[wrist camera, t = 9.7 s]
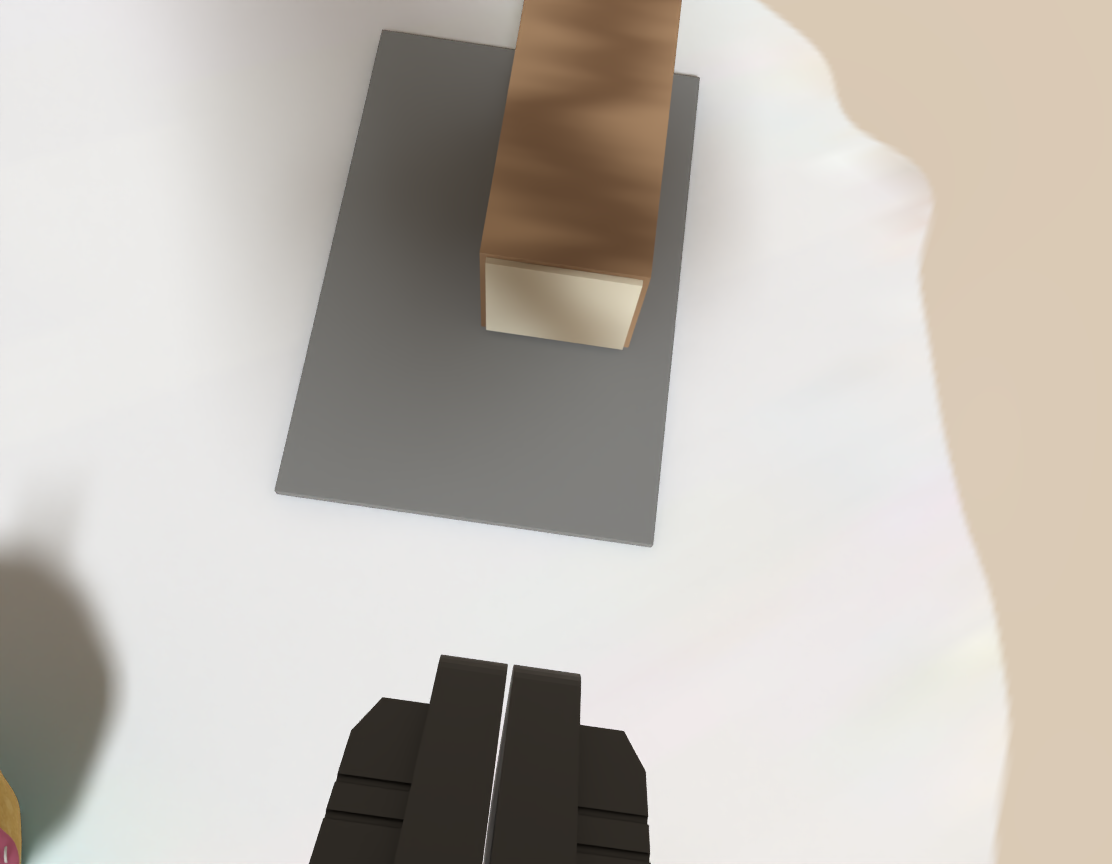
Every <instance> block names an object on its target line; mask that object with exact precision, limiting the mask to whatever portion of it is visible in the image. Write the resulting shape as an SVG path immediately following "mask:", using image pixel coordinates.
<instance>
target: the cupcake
mask: <svg viewBox="0 0 1112 864" xmlns="http://www.w3.org/2000/svg"><path fill="white" fill-rule="evenodd" d="M21 847H22V838H21V816H20V808H19V803H18V800H17V798H16V795H15V793H14V792H13V790H12V788H11V787H10V785H9V784H8V782H7V781H6V779H5V778H4V776H3V774H2V773H1V771H0V864H21Z"/></svg>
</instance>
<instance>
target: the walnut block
mask: <svg viewBox="0 0 1112 864" xmlns="http://www.w3.org/2000/svg"><path fill="white" fill-rule="evenodd" d="M681 2H682V0H524V4H523V10H522V15H521V21H520V27H519V32H518V38H517V43H516V49H515V55H514V60H513V66H512V72H511V77H510V83H509V89H508V94H507V100H506V106H505V111H504V117H503V123H502V128H501V134H500V140H499V145H498V151H497V157H496V162H495V168H494V174H493V179H492V185H491V190H490V196H489V202H488V207H487V213H486V219H485V224H484V230H483V236H482V241H481V247H480V298H481V326H483V327H486V330H490V331H497V332H504V333H510V334H517V335H524V336H531V337H538V338H545V339H552V340H558V341H565V342H572V343H579V344H586V345H593V346H600V347H606V348H613V349H620V350H623V347H627V348H628V347H629V344H630V341H631V338H632V334H633V331H634V328H635V325H636V322H637V319H638V316H639V313H640V310H641V307H642V304H643V301H644V298H645V295H646V292H647V289H648V285H649V282H650V279H651V273H652V264H653V255H654V246H655V237H656V228H657V219H658V210H659V201H660V192H661V183H662V174H663V165H664V156H665V147H666V138H667V129H668V120H669V110H670V101H671V92H672V83H673V74H674V65H675V56H676V47H677V38H678V29H679V20H680V11H681Z"/></svg>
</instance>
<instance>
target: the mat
mask: <svg viewBox="0 0 1112 864" xmlns="http://www.w3.org/2000/svg"><path fill="white" fill-rule="evenodd" d="M514 55H515V50H513V49H506V48H500V47H493V46H487V45H480V44H473V43H467V42H460V41H453V40H447V39H440V38H434V37H427V36H420V35H414V34H407V33H400V32H394V31H387V30H382V33H381V37H380V41H379V46H378V50H377V54H376V59H375V63H374V67H373V71H372V76H371V80H370V84H369V89H368V93H367V97H366V101H365V106H364V110H363V114H362V119H361V123H360V127H359V131H358V136H357V140H356V144H355V148H354V153H353V157H352V161H351V166H350V170H349V174H348V178H347V183H346V187H345V191H344V196H343V200H342V204H341V208H340V213H339V217H338V221H337V225H336V230H335V234H334V238H333V243H332V247H331V251H330V255H329V260H328V264H327V268H326V273H325V277H324V281H323V285H322V290H321V294H320V298H319V302H318V307H317V311H316V315H315V320H314V324H313V328H312V332H311V337H310V341H309V345H308V350H307V354H306V358H305V362H304V367H303V371H302V375H301V379H300V384H299V388H298V392H297V397H296V401H295V405H294V409H293V414H292V418H291V422H290V427H289V431H288V435H287V439H286V444H285V448H284V452H283V456H282V461H281V465H280V469H279V474H278V478H277V482H276V486H275V492H276V493H277V494H281V495H288V496H295V497H302V498H309V499H316V500H323V501H330V502H337V503H344V504H351V505H358V506H365V507H372V508H379V509H386V510H393V511H400V512H407V513H414V514H421V515H428V516H435V517H442V518H449V519H456V520H463V521H470V522H477V523H484V524H491V525H498V526H505V527H512V528H519V529H526V530H533V531H540V532H547V533H554V534H561V535H568V536H575V537H582V538H589V539H596V540H603V541H610V542H617V543H624V544H631V545H638V546H645V547H652V546H653V541H654V531H655V521H656V511H657V501H658V491H659V481H660V471H661V461H662V451H663V441H664V431H665V421H666V411H667V401H668V391H669V381H670V371H671V361H672V351H673V341H674V331H675V320H676V310H677V300H678V290H679V280H680V270H681V260H682V250H683V240H684V230H685V220H686V210H687V200H688V190H689V180H690V170H691V160H692V150H693V140H694V130H695V120H696V110H697V100H698V90H699V80H700V78H699V77H692V76H686V75H679V74H673V83H672V92H671V101H670V110H669V120H668V129H667V138H666V147H665V156H664V165H663V174H662V183H661V192H660V201H659V210H658V219H657V228H656V237H655V246H654V255H653V264H652V273H651V279H650V282H649V285H648V289H647V292H646V295H645V298H644V301H643V304H642V307H641V310H640V313H639V316H638V319H637V322H636V325H635V328H634V331H633V334H632V338H631V341H630V344H629V347H628V348H627V347H623V350H620V349H613V348H606V347H600V346H593V345H586V344H579V343H572V342H565V341H558V340H552V339H545V338H538V337H531V336H524V335H517V334H510V333H504V332H497V331H490V330H486V327H483V326H481V298H480V247H481V241H482V236H483V230H484V224H485V219H486V213H487V207H488V202H489V196H490V190H491V185H492V179H493V174H494V168H495V162H496V157H497V151H498V145H499V140H500V134H501V128H502V123H503V117H504V111H505V106H506V100H507V94H508V89H509V83H510V77H511V72H512V66H513V60H514Z"/></svg>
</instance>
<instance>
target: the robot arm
mask: <svg viewBox="0 0 1112 864" xmlns="http://www.w3.org/2000/svg"><path fill="white" fill-rule="evenodd" d="M507 667H508V664H504V663H497V662H490V661H483V660H476V659H469V658H462V657H455V656H448V655H441V657H440V660H439V664H438V668H437V673H436V677H435V682H434V686H433V691H432V695H431V700H430V704H427V703H419V702H412V701H405V700H398V699H391V698H384V697H382V698H381V700H380V701H379V702H378V703H377V704H376V705H375V706H374V707H373V708H372V709H371V710H370V711H369V712H368V713H367V714H366V715H365V716H364V718H363V719H362V720H361V721H360V722H359V723H358V724H357V725H356V726H355V727H354V728H353V729H352V730H351V733H350V736H349V739H348V742H347V745H346V748H345V752H344V755H343V758H342V761H341V764H340V767H339V771H338V775H337V780H336V782H335V783H334V786H333V789H332V793H331V796H330V799H329V802H328V805H327V808H326V814H325V818H323V821H322V824H321V827H320V831H319V834H318V837H317V840H316V843H315V846H314V850H313V853H312V856H311V859H310V862H309V864H482V862H483V855H484V862H483V864H651V863H649V857H650V842H649V825H647V819H648V805H647V787H646V771H645V769H644V768H643V766H642V764H641V762H640V760H639V758H638V756H637V755H636V753H635V751H634V749H633V747H632V745H631V743H630V742H629V740H628V738H627V736H626V734H625V732H624V731H619V730H612V729H605V728H598V727H591V726H584V725H580V702H581V676H580V674H576V673H569V672H562V671H555V670H548V669H541V668H534V667H527V666H520V665H514V666H513V670H512V676H511V682H510V688H509V694H508V701H507V707H506V713H505V719H504V725H503V731H502V737H501V744H500V750H499V756H498V762H497V768H496V774H495V781H494V788H493V794H492V801H491V808H490V800H491V792H492V784H493V777H494V769H495V761H496V753H497V745H498V738H499V730H500V722H501V714H502V706H503V699H504V691H505V683H506V675H507ZM489 808H490V816H489ZM488 816H489V823H488ZM487 823H488V831H487ZM486 831H487V838H486ZM485 839H486V846H485ZM484 847H485V854H484Z"/></svg>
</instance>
